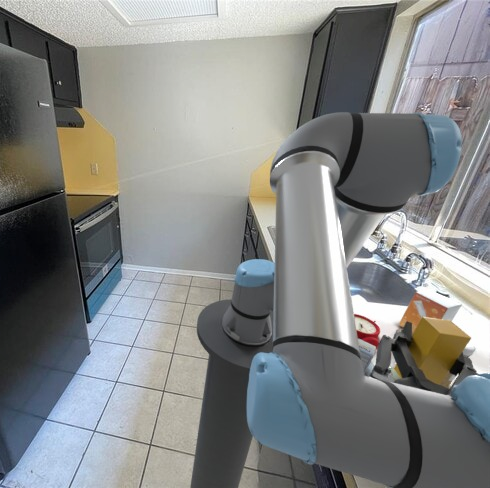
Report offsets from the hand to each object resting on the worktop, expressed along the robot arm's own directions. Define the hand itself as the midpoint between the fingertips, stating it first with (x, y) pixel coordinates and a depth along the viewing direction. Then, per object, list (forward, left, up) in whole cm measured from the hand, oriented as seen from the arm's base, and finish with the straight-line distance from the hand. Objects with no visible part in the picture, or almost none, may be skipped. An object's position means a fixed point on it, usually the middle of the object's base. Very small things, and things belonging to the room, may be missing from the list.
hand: (428, 336), depth 46 cm
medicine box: (-13, -2, -23) cm, 26 cm away
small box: (-33, +26, -23) cm, 48 cm away
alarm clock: (-26, +6, -23) cm, 35 cm away
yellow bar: (+5, -3, -6) cm, 8 cm away
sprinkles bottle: (-13, +18, -23) cm, 32 cm away
